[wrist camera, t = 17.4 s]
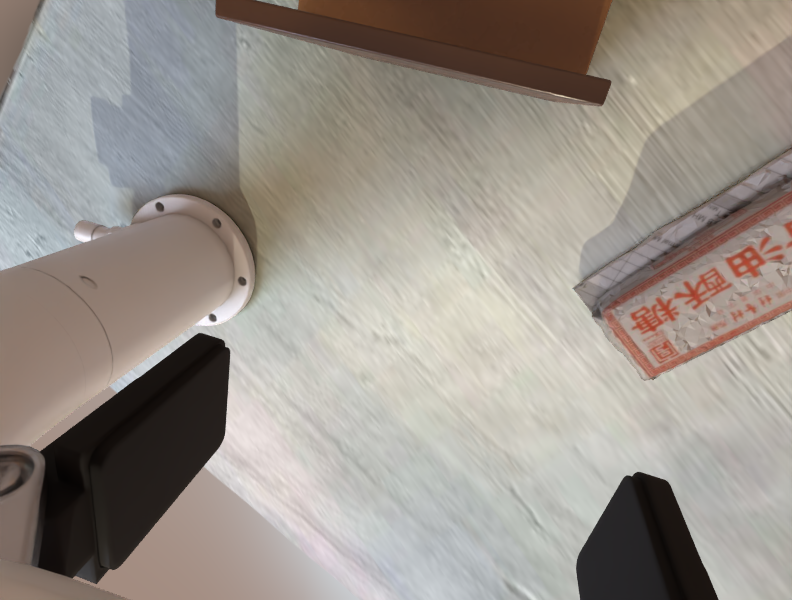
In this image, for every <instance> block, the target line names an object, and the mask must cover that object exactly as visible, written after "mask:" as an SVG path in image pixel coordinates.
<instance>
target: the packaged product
mask: <svg viewBox="0 0 792 600" xmlns="http://www.w3.org/2000/svg"><path fill="white" fill-rule="evenodd" d="M573 289H574V290H575V292H576V293H577V294H578V296H579V297H580V298H581V300H582V301H583V302H584V303H585V305H586V306H587V307H588V309H589V310H590V311H591V313H592V317H593V319H594V320H595V322H596V323H597V324H598V325H599V326H600V327H601V329H602V331H603V333H604V335H605V337H606V338H607V339H608V340H609V341H610V342H611V343H612V345H613V346H614V347H615V348H616V349H617V350H618V351H620V352H621V353H623V354H624V356H625V357H626V358H627V359H628V361H629V362H630V364H631V365H632V366H633V367H634V368H635V369H636V370H637V372H638V374H639V376H640V377H641V379H643V380H644V381H645V380H650V379H652V380H654V379H655V378H657V377H658V376H659V375H661V374H662V373H666V372H669V371H671V370H672V369H674V368H676V367H678V366H680V365H682V364H685V363H687V362H688V361H690V360H692V359H694V358H696V357H698V356H701V355H703V354H705V353H707V352H709V351H711V350H712V349H714V348H716V347H719V346H722V345H723V344H725V343H726V342H729V341H731V340H733V339H735V338H737V337H739V336H741V335H743V334H746V333H748V332H750V331H752V330H754V329H756V328H757V327H759V326H760V325H763V324H765V323H768V322H770V321H772V320H774V319H776V318H778V317H780V316H782V315H784V314H786V313H788V312H790V311H792V149H790V150H788V151H787V152H785V153H784V154H782V155H781V156H779V157H777V158H776V159H774V160H773V161H771V162H770V163H768V164H766V165H765V166H763V167H762V168H760V169H759V170H757V171H756V172H755V173H753V174H752V175H750V176H749V177H747V178H746V179H745V180H743V181H742V182H740V183H738V184H737V185H735V186H733V187H732V188H730V189H728V190H727V191H725V192H723V193H722V194H720V195H718V196H717V197H715V198H713V199H712V200H710V201H708V202H707V203H705V204H703V205H702V206H700V207H698V208H697V209H695V210H693V211H692V212H690V213H688V214H687V215H685V216H683V217H681V218H679V219H677V220H675V221H673V222H672V223H670V224H668V225H666V226H664V227H662V228H660V229H658V230H656V231H655V232H654V233H653V234H652V235H650V236H649V237H648V238H647V239H646V240H644V241H643V242H642V243H641V244H640V245H638V246H637V247H636V248H635V249H633V250H632V251H630V252H628V253H626V254H625V255H623V256H621V257H620V258H618V259H616V260H614V261H613V262H611V263H610V264H608V265H607V266H605V267H604V268H602V269H601V270H599V271H598V272H596V273H595V274H593V275H592V276H590V277H589V278H587V279H586V280H584V281H583V282H581V283H580V284H578V285H577V286H575V287H574V288H573Z"/></svg>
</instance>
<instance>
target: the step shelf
mask: <svg viewBox="0 0 792 600" xmlns="http://www.w3.org/2000/svg"><path fill="white" fill-rule="evenodd" d="M611 3H612V0H299V5H298V10H296V9H292V8H288V7H283V6H279V5H274V4H270V3H265V2H261V1H257V0H216V17H218V18H221V19H225V20H228V21H232V22H236V23H239V24H243V25H247V26H250V27H254V28H258V29H262V30H265V31H269V32H273V33H276V34H280V35H284V36H287V37H291V38H295V39H298V40H302V41H306V42H309V43H313V44H317V45H320V46H324V47H328V48H331V49H335V50H339V51H342V52H346V53H350V54H353V55H357V56H361V57H365V58H369V59H373V60H377V61H382V62H386V63H390V64H395V65H399V66H403V67H407V68H412V69H416V70H420V71H425V72H429V73H433V74H437V75H442V76H446V77H450V78H455V79H459V80H463V81H467V82H472V83H476V84H480V85H485V86H489V87H493V88H497V89H502V90H506V91H510V92H515V93H519V94H523V95H527V96H532V97H536V98H540V99H544V100H549V101H553V102H562V103H572V104H582V105H592V106H602V105H603V104H604V102H605V99H606V96H607V94H608V91H609V88H610V86H611V81H610V80H607V79H603V78H598V77H594V76H590V75H586V74H587V71H588V68H589V65H590V62H591V60H592V57H593V54H594V51H595V48H596V45H597V43H598V40H599V37H600V34H601V31H602V28H603V26H604V23H605V20H606V17H607V14H608V11H609V9H610V6H611Z"/></svg>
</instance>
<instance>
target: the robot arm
mask: <svg viewBox="0 0 792 600" xmlns="http://www.w3.org/2000/svg"><path fill="white" fill-rule="evenodd" d="M74 235H75V237H76V239H78V240H79V241H82V242H85V243H82V244H79V245H76V246H73V247H70V248H67V249H64V250H61V251H58V252H55V253H53V254H50V255H47V256H44V257H41V258H38V259H35V260H32V261H29V262H26V263H23V264H20V265H17V266H14V267H12V268H8V269H5V270H2V271H0V600H129V599H127V598H124V597H121V596H119V595H116V594H113V593H110V592H108V591H105V590H102V589H100V588H96V587H94V586H91V585H89V584H86V583H83V582H80V581H78V580H74V579H72V578H73V577H74V576H77V577H80V578H82V579H85V580H87V581H90V582H93V583H95V584H97V583H98V582H99V580H100V579H101V578H102V577H103V576H104V574H105V573H106V572H107V571H108V570H109V569H112V570H115V569H117V568H118V567H119V566H121V565H122V564H123V562H124V561H125V560H126V559H127V558H128V556H129V555H130V554H131V553H132V552H133V550H134V549H135V548H136V547H137V546H138V544H139V543H140V542H141V541H142V540H143V538H144V537H145V536H146V535H147V534H148V532H149V531H150V530H151V529H152V528H153V526H154V525H155V524H156V523H157V522H158V520H159V519H160V518H161V517H162V516H163V514H164V513H165V512H166V511H167V510H168V508H169V507H170V506H171V505H172V504H173V502H174V501H175V500H176V499H177V498H178V496H179V495H180V494H181V493H182V491H183V490H184V489H185V488H186V487H187V486H188V484H189V483H190V482H191V481H192V479H193V478H194V477H195V476H196V474H197V473H198V472H199V471H200V470H201V469H202V467H203V466H204V465H205V464H206V463H207V461H208V460H209V459H210V458H211V457H212V455H213V454H214V453H215V452H216V451H217V449H218V448H219V447H220V445H221V443H222V441H223V439H224V436H225V428H226V412H227V396H228V380H229V365H230V350H229V348H227V347H225V343H224V341H223V340H222V339H219V338H215V337H212V336H209V335H206V334H203V333H198V334H197V335H195V336H194V337H192V338H191V339H190V340H188V341H187V342H186V343H184V344H183V345H182V346H180V347H179V348H178V349H176V350H175V351H174V352H172V353H171V354H170V355H169V356H167V357H166V358H165V359H163V360H162V361H161V362H159V363H158V364H157V365H155V366H154V367H153V368H151V369H150V370H149V371H147V372H146V373H145V374H143V375H142V376H141V377H139V378H137V379H136V380H134V381H133V382H132V383H130V384H129V385H128V386H126V387H125V388H124V389H122V390H121V391H120V392H118V393H117V394H116V395H114V396H113V397H112V398H111V399H109V400H108V401H107V402H105V403H104V404H103V405H101V406H100V407H99V408H97V409H96V410H95V411H93V412H92V413H91V414H89V415H88V416H87V417H85V418H84V419H83V420H81V421H80V422H79V423H77V424H76V425H75V426H73V427H72V428H71V429H69V430H68V431H67V432H66V433H64V434H63V435H61V436H60V437H59V438H57V439H56V440H55V441H53V442H52V443H51V444H49V445H48V446H47V447H46V448H44V449H43V450H41V451H40V452H39V451H38V450H36V449H34V448H32V447H30V445H32V444H33V443H34V442H35V441H36V440H38V439H39V438H40V437H41V436H43V435H44V434H45V433H46V432H48V431H49V430H50V429H51V428H52V427H54V426H55V425H56V424H58V423H59V422H60V421H62V420H63V419H65V418H66V417H67V416H68V415H70V414H71V413H72V412H74V411H75V410H77V409H78V408H79V407H81V406H82V405H83V404H85V403H86V402H88V401H89V400H90V399H92V398H93V397H94V396H96V395H97V394H99V393H100V392H101V391H103V390H104V389H106V388H107V387H108V386H110V385H111V384H113V383H114V382H115V381H117V380H118V379H120V378H121V377H122V376H124V375H125V374H127V373H128V372H129V371H131V370H132V369H133V368H135V367H136V366H138V365H139V364H140V363H142V362H143V361H145V360H146V359H147V358H149V357H150V356H152V355H153V354H154V353H156V352H157V351H158V350H160V349H161V348H163V347H164V346H165V345H167V344H168V343H170V342H171V341H172V340H174V339H175V338H177V337H178V336H179V335H181V334H182V333H183V332H185V331H186V330H188V329H189V328H190V327H192V326H193V325H198V326H212V325H218V324H221V323H223V322H226V321H228V320H230V319H231V318H233V317H234V316H235V315H237V314H238V313H239V312H240V311H241V310H242V309H243V308H244V307H245V306H246V304H247V303H248V301H249V300H250V298H251V295H252V292H253V289H254V283H255V265H254V260H253V256H252V252H251V250H250V248H249V245H248V243H247V241H246V239H245V237H244V235H243V234H242V232H241V231H240V229H239V228H238V226H237V225H236V224H235V223H234V222H233V221H232V220H231V218H230V217H229V216H228V215H226V214H225V213H224V212H223V211H222V210H220V209H219V208H218V207H216V206H215V205H213V204H211V203H210V202H208V201H206V200H203V199H201V198H198V197H195V196H191V195H185V194H170V195H167V196H163V197H159V198H156V199H154V200H152V201H149V202H148V203H146V204H145V205H144V206H143V207H141V208H140V209H139V211H138V212H137V213H136V215H135V216H134V218H133V220H132V222H131V224H130V225H129V226H127V227H124V228H122V227H119V226H114V227H112V228H107V227H105V226H103V225H100V224H96V223H93V222H89V221H86V220H82V221H79V222H78V223H77V224H76V226H75V228H74ZM576 572H577V580H578V587H579V594H580V600H718V597H717V595H716V593H715V590H714V588H713V585H712V583H711V580H710V578H709V576H708V573H707V571H706V569H705V567H704V565H703V564H702V561H701V559H700V556H699V554H698V552H697V549H696V547H695V544H694V542H693V539H692V537H691V535H690V532H689V530H688V527H687V525H686V522H685V520H684V518H683V515H682V513H681V510H680V508H679V505H678V503H677V501H676V498H675V496H674V493H673V491H672V488H671V486H670V484H669V483H668V482H667V481H666V480H664V479H660V478H657V477H654V476H651V475H648V474H645V473H641V472H636V473H635V474H634V475H633V476H625V477H624V478H623V480H622V481H621V483H620V485H619V487H618V488H617V490H616V492H615V493H614V495H613V497H612V499H611V500H610V502H609V504H608V505H607V507H606V509H605V511H604V512H603V514H602V516H601V517H600V519H599V521H598V523H597V524H596V526H595V528H594V529H593V531H592V533H591V534H590V536H589V538H588V540H587V541H586V543H585V545H584V546H583V548H582V550H581V552H580V553H579V556H578V559H577V565H576Z"/></svg>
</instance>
